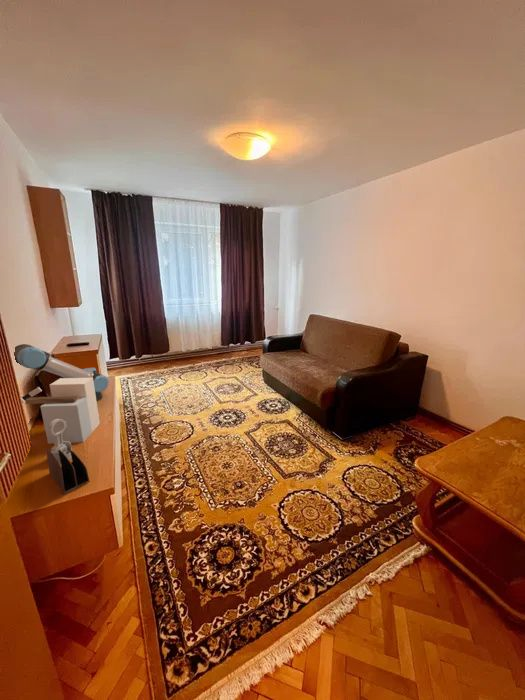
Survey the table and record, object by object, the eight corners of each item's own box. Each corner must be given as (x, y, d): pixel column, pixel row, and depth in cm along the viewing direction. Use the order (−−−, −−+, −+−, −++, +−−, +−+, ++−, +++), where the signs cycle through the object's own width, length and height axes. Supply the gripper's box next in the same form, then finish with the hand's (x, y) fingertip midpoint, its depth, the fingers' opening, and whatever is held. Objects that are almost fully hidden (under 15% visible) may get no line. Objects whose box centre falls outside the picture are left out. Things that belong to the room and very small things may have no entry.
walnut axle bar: (30, 401, 152) (29, 397, 152) (77, 400, 155) (76, 396, 154) (26, 403, 150) (25, 399, 149) (74, 402, 152) (73, 398, 151)
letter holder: (63, 495, 118) (58, 466, 114) (49, 473, 130) (43, 447, 127) (90, 482, 125) (85, 454, 122) (74, 463, 138) (69, 437, 134)
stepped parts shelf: (68, 424, 172) (60, 378, 164) (99, 423, 174) (92, 377, 166) (48, 443, 153) (37, 392, 145) (83, 442, 155) (74, 391, 147)
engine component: (43, 462, 137) (60, 465, 136) (35, 425, 132) (53, 427, 130) (62, 449, 148) (79, 452, 146) (55, 414, 142) (72, 416, 141)
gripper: (20, 408, 163) (51, 390, 163) (-16, 431, 139) (20, 410, 139) (10, 398, 161) (41, 379, 161) (-28, 419, 137) (8, 398, 137)
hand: (31, 394), depth 150 cm, fingers open, 13 cm apart
